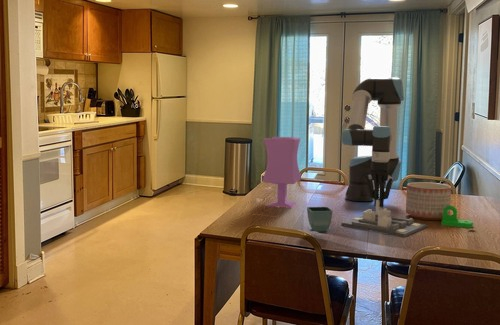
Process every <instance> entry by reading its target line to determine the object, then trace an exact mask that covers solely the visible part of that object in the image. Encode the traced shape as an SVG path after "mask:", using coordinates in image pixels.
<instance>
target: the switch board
mask: <svg viewBox="0 0 500 325" xmlns="http://www.w3.org/2000/svg"><path fill="white" fill-rule="evenodd" d="M391 218H392V219H391V228H388V227H382V226H378V215H375V221H372V220H366V219H363V215H361V216H358V217H355V218H354V217H353V218H352V219H348V220H346V221H342V222H341V223H340V224H341V226H344V227H347V228H349V227H350V228H354V229H358V230H359V229H360V230H365V231H370V232H373V233H374V232H375V233H381V234H387V235H389V236H390V235H391V236H396V237H401V238H405V237H407V236H410V235H412V234H414V233H415V234H416V233H417V232H419V231H421V230H423V229H425V228H428V224H425V223H420V222H414V218H413V217H410V218H408V219H407V218H400V217H394V216H391Z"/></svg>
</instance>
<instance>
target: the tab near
mask: <svg viewBox="0 0 500 325" xmlns="http://www.w3.org/2000/svg"><path fill="white" fill-rule="evenodd" d="M391 219H392V218H389V217H387V215H385V216H382V217H379V218H378V226H382V227H388V228H391Z"/></svg>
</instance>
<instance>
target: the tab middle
mask: <svg viewBox="0 0 500 325" xmlns="http://www.w3.org/2000/svg"><path fill="white" fill-rule="evenodd" d="M375 215H376V210H374V211H373V210H372V209H371V208H369V209H366V210H364V211H362V216H363V219H366V220H372V221H375Z"/></svg>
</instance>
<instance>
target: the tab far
mask: <svg viewBox="0 0 500 325" xmlns="http://www.w3.org/2000/svg"><path fill="white" fill-rule="evenodd" d="M385 215H387V217H389V218H391V217H392V211H391V210H389V209H388V208H386V207H383V208H382V209H381V210H378V218H379V217H382V216H385Z"/></svg>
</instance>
